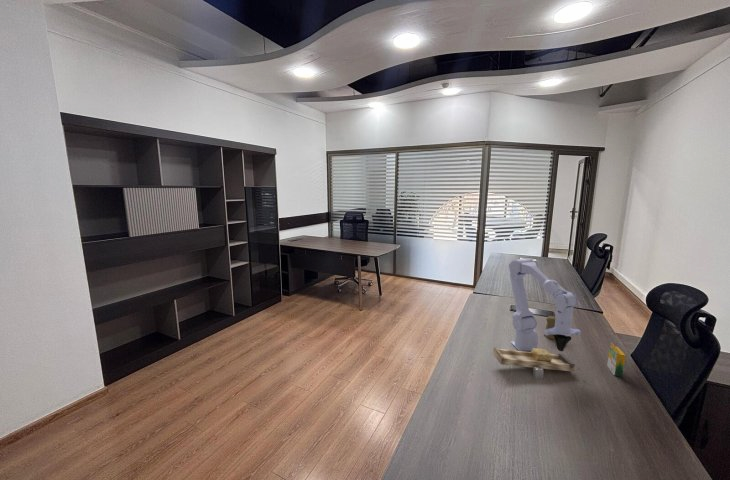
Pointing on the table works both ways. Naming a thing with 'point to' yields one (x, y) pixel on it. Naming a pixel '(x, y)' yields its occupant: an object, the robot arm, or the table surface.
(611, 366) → the crayon box
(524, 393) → the table surface
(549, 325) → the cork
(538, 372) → the grey rectangular bar
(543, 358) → the block
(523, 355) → the beam
